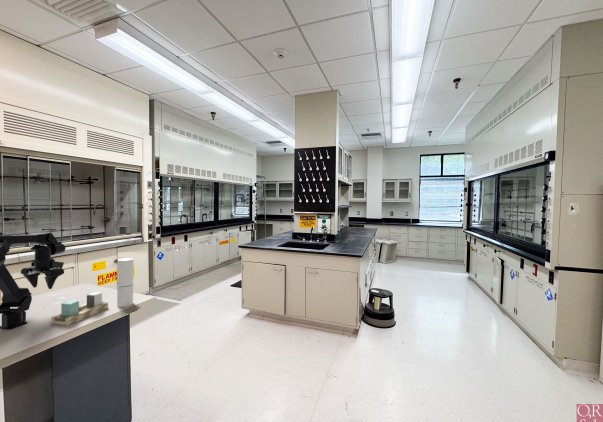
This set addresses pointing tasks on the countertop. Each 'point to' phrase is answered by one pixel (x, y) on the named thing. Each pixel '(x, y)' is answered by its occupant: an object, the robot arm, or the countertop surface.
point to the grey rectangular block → (94, 299)
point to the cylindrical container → (125, 282)
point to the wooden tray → (81, 315)
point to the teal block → (69, 308)
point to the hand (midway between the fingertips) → (42, 288)
